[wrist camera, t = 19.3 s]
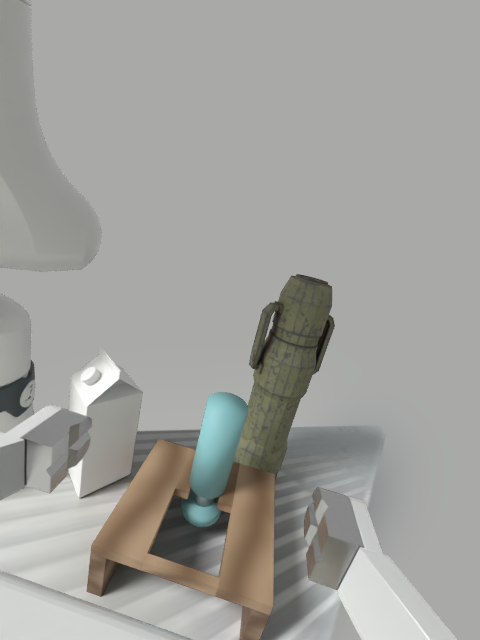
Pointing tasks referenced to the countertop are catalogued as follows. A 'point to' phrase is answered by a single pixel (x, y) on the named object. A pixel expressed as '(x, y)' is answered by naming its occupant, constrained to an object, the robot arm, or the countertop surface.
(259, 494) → the keyhole bridge
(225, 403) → the teal necked cylinder
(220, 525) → the countertop surface
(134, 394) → the milk carton
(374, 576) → the robot arm
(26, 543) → the countertop surface
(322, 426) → the countertop surface
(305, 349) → the thermos
